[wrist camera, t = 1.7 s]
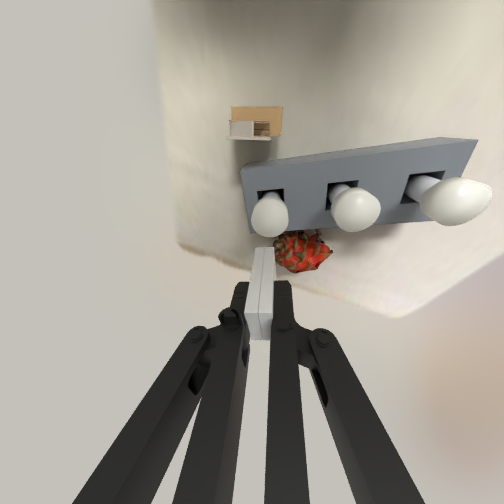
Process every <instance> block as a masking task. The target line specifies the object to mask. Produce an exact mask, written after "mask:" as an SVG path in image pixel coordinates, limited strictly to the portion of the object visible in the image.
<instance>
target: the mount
mask: <svg viewBox="0 0 504 504" xmlns="http://www.w3.org/2000/svg"><path fill="white" fill-rule="evenodd" d="M477 142H478V140H474V139H460V138H445V137H437V138H430V139H423V140H416V141H409V142H401V143H394V144H387V145H380V146H372V147H365V148H358V149H351V150H344V151H336V152H329V153H322V154H315V155H308V156H300V157H293V158H286V159H279V160H271V161H264V162H257V163H250V164H246V165H245V166H244V167H243V168H242V169H241V171H240V175H241V181H242V187H243V193H244V199H245V205H246V211H247V217H248V223H249V229H250V233H257V232H256V231H255V230H254V229H253V227H252V224H251V217H252V213H253V210H254V207H255V205H256V203H257V202H258V201H259V200H260V199H262V196H261V191H263V190H272V189H281V188H283V193H284V201H283V202H284V203H285V205H286V207H287V210H288V219H289V222H288V226H287V228H286V230H285V231H292V230H306V229H321V228H335V227H339V226H338V225H337V223H336V221H335V220H334V218H333V216H332V214H331V205H332V203H331V202H330V200H329V199H328V197H326V196H327V185H328V183H335V182H344V183H345V184H346V185H348V186H349V187H350V188H354V187H357V188H362V189H364V190H366V191H367V192H369V193H370V194H371V195H373V196H374V197H376V198H377V199H378V201H379V203H380V206H381V210H380V214H379V216H378V218H377V220H376V221H375V222H374V223H373V224H372V225H379V224H393V223H408V222H423V221H435V220H433V219H431V218H430V217H428V216H426V215H425V214H423V213H422V212H421V210H420V203H419V202H417V201H415V200H413V199H411V198H410V197H408V196H406V195H404V194H403V193H404V190H405V187H406V184H407V180H408V177H409V174H412V175H411V176H413V175H416V174H423V175H426V176H430V177H433V178H436V179H439V180H444V179H447V178H451V177H461V175H462V173H463V171H464V169H465V167H466V165H467V163H468V161H469V159H470V157H471V155H472V152H473V150H474V148H475V146H476V144H477Z"/></svg>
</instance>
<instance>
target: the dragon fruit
mask: <svg viewBox="0 0 504 504" xmlns="http://www.w3.org/2000/svg"><path fill="white" fill-rule="evenodd" d="M315 230H316V232H317V233H316V234H315V235H313V236H311V237H307V235H306V234H305V232H304V231H303V230H301V231H298V232H297V230H292V233H291V235H290V236H289V237H288V236H287V235H286V234H280V235H279V239H278V240H275V242H274V244H273V247H274V253H275V262H276V263H278V264H279V265H281V266H284V267H285V268H287V269H288V270H289V271H290V272H292V273H299V272H303V271H309V270H316V269H318V267H319V265H320V264H321V263H322V262H323V261H324V260H325V259H326V258H327V257H329V255H330V254H332V253H333V250H331V251H330V249H329V247H328V246H326V245H325V242H324V241H321V240H322V239H319V240H317V239H318V237H319V235H322V234H321V232H320V231H319V230H317V229H315ZM290 232H291V231H290ZM298 234H301V235H298ZM316 240H317V241H316Z"/></svg>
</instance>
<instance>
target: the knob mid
mask: <svg viewBox="0 0 504 504" xmlns="http://www.w3.org/2000/svg"><path fill="white" fill-rule="evenodd" d="M328 199H329V200H330V202H331V203H332V205H331V214H332V216H333V218H334V220H335V221H336V223H337V225H338V226H339V227H340V228H341V229H342V230H344V231H347V232H358V231H362V230H364V229H366V228H368V227H369V226H371V225H372V224H373V223H374V222H375V221H376V220H377V218H378V216H379V214H380V210H381V206H380V203H379V201H378V199H377V198H376V197H374V196H373V195H371V194H370V193H369V192H367V191H366V190H364V189H362V188H357V187H354V188H350V187H349V186H348V185H346V184H345V183H336V184H334V185H333V186H331V188H330V189H329V191H328Z"/></svg>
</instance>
